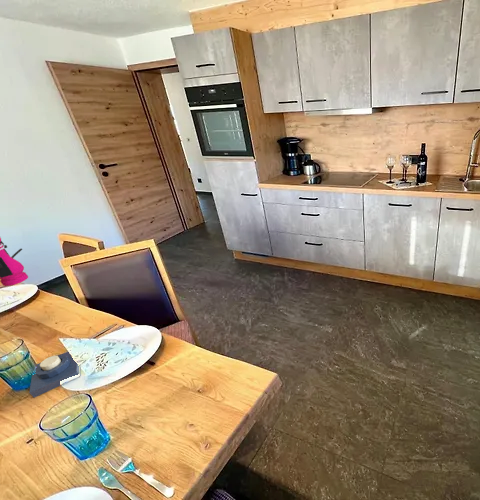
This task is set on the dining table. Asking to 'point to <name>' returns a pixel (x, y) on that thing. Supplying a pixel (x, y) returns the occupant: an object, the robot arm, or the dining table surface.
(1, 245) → the pepper mill
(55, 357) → the beige round button
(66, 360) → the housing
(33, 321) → the dining table surface
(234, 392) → the dining table surface
